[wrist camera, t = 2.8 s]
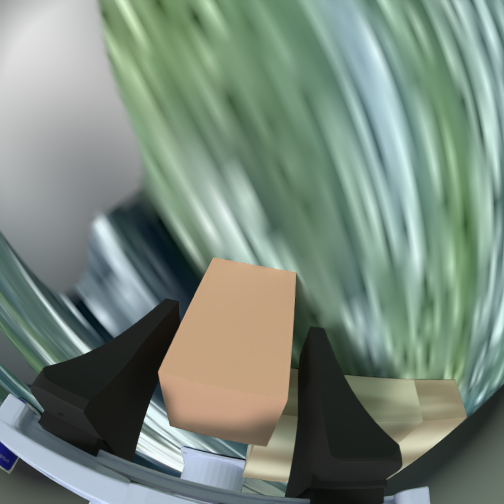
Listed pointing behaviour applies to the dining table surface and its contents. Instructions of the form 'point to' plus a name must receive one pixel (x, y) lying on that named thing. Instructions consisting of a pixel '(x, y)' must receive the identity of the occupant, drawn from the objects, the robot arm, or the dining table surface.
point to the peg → (232, 354)
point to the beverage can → (6, 457)
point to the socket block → (380, 409)
